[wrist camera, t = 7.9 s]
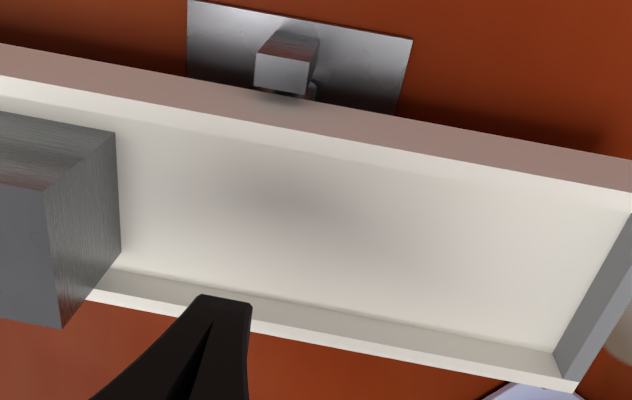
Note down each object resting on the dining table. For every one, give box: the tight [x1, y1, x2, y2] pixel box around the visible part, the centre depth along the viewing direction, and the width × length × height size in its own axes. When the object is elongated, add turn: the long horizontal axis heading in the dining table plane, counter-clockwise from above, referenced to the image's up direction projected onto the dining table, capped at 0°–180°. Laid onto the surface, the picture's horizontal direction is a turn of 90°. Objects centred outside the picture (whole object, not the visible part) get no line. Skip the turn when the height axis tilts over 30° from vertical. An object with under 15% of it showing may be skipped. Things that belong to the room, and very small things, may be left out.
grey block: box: [0, 111, 122, 330], centre depth 15 cm, size 5×5×4 cm
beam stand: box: [186, 0, 413, 116], centre depth 19 cm, size 8×12×4 cm, turn 171°
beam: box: [0, 43, 632, 394], centre depth 17 cm, size 28×8×3 cm, turn 82°
